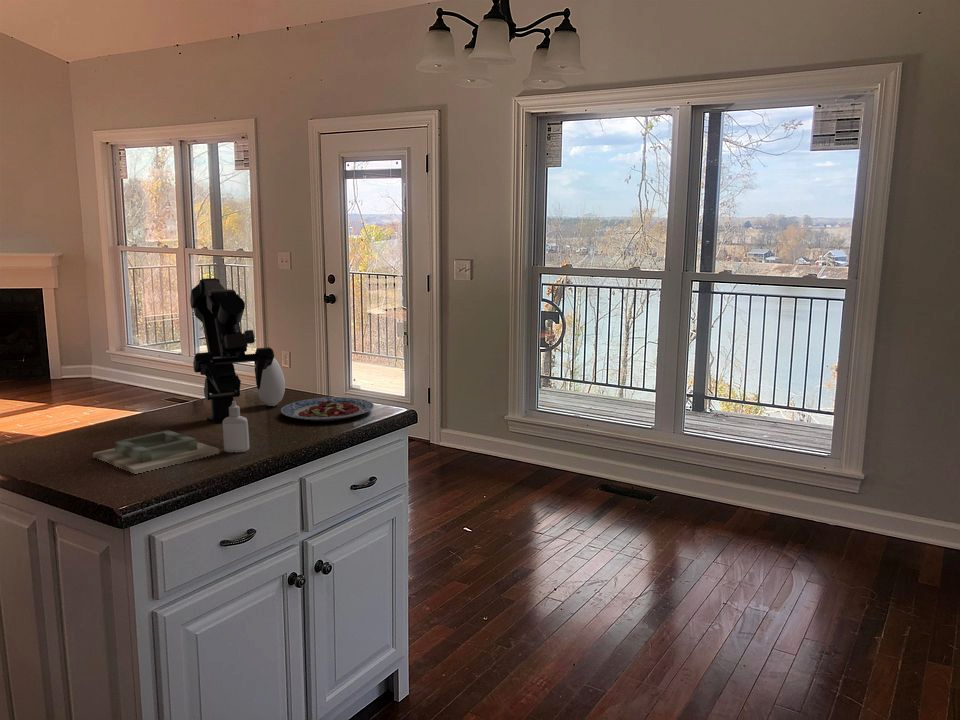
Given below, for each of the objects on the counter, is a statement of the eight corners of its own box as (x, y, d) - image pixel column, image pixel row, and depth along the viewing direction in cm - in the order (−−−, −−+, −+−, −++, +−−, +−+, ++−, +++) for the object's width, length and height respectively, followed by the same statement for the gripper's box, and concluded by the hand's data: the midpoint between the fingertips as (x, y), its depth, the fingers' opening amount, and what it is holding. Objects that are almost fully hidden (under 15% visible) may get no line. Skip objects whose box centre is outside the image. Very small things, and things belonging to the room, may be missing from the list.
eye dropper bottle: (239, 454, 178) (235, 404, 176) (221, 451, 181) (217, 401, 179) (252, 449, 182) (249, 400, 180) (234, 446, 185) (231, 398, 183)
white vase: (291, 404, 228) (288, 345, 225) (271, 410, 222) (267, 348, 219) (272, 401, 233) (269, 343, 229) (252, 407, 226) (249, 346, 223)
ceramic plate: (319, 401, 234) (319, 391, 233) (391, 409, 223) (391, 399, 222) (261, 420, 211) (260, 409, 211) (337, 430, 200) (337, 419, 199)
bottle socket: (93, 457, 177) (92, 442, 176) (175, 439, 192) (174, 425, 191) (135, 475, 164) (133, 458, 163) (219, 453, 179) (218, 438, 178)
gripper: (193, 321, 182) (202, 380, 176) (272, 316, 191) (283, 372, 185) (189, 343, 191) (198, 400, 185) (265, 337, 200) (276, 391, 194)
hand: (239, 390), depth 187 cm, fingers open, 9 cm apart
